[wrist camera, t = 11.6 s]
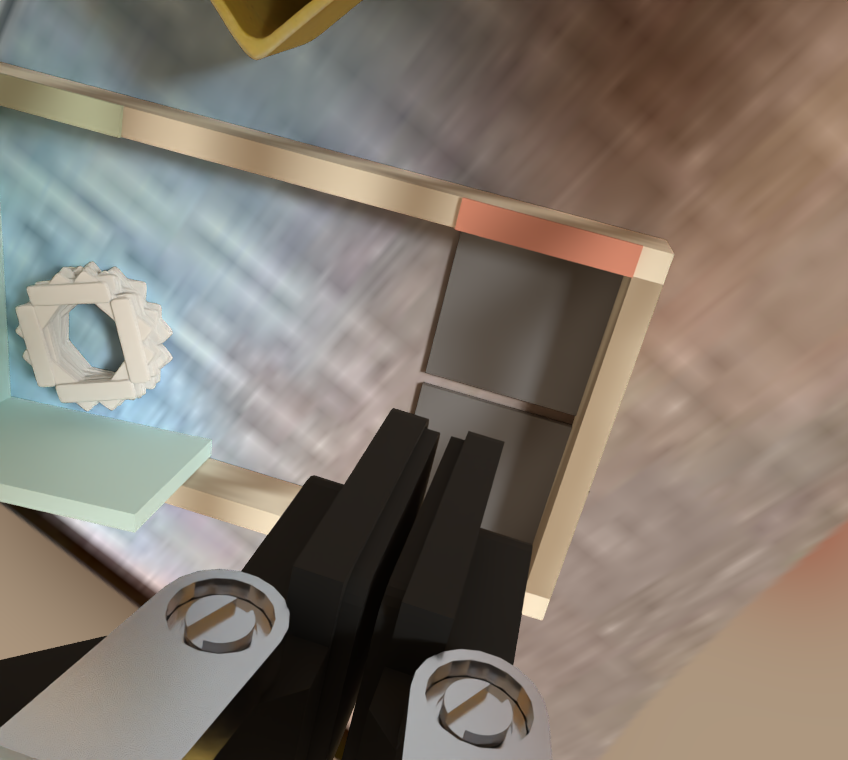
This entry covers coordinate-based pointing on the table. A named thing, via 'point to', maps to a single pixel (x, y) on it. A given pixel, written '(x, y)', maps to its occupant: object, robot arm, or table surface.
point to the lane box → (444, 317)
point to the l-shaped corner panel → (89, 407)
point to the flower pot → (278, 22)
